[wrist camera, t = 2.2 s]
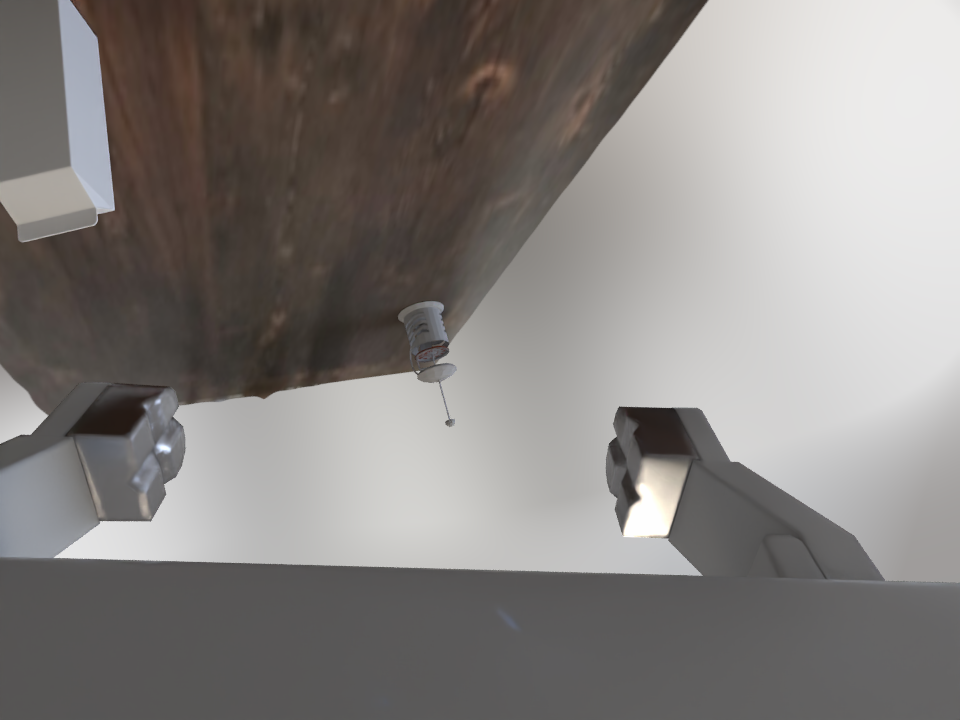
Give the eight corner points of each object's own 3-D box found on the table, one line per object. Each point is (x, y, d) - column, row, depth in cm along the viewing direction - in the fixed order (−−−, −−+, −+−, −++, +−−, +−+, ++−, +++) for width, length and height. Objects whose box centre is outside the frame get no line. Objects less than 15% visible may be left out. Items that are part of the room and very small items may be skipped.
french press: (452, 302, 134) (485, 416, 126) (423, 327, 142) (452, 435, 134) (413, 299, 127) (444, 419, 119) (385, 326, 136) (412, 439, 128)
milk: (98, 37, 59) (121, 244, 52) (30, 52, 59) (45, 262, 52) (55, -22, 53) (75, 202, 46) (-20, -6, 53) (-11, 223, 46)
